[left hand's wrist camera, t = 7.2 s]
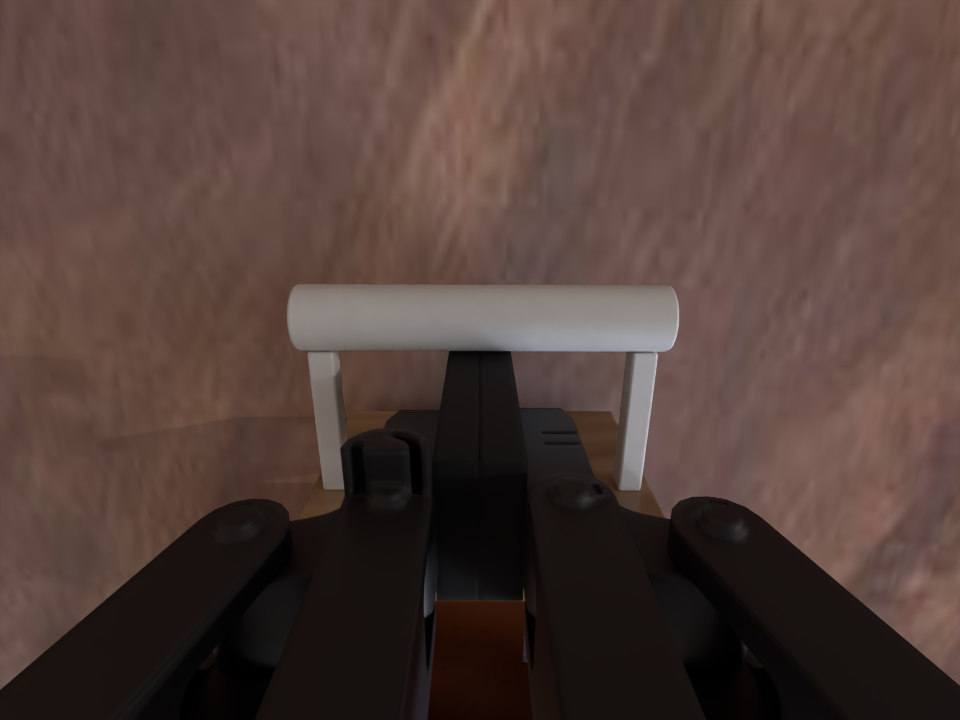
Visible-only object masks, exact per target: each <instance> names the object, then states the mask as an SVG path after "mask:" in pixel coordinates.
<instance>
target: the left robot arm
mask: <svg viewBox="0 0 960 720" xmlns="http://www.w3.org/2000/svg"><path fill="white" fill-rule="evenodd" d="M340 453H341V463H342V472H343V482H344V492H345V497H344V499H343V502H342V504H341V507H340V508H339V509H336V510H334V511H332V512H329V513H326V514H322V515H319V516H315V517H310V518H305V519H300V520H295V521H290V520H289V513H288V511H287V510H286V509H285V508H284V507H283V505H282V504H280V503H277V502H274V501H271V500H268V499H249V500H243V501H237V502H233V503H230V504H228V505H225V506H223V507H220V508H218V509H215V510H214V511H212V512H211V513H209V514H207V515H206V516H204V517H203V518H201V519H200V520H199V521H198V522H196V523H195V524H194V525H193V526H192V527H191V528H189V529H188V530H187V531H186V532H185V533H183V534H182V535H181V536H180V537H179V538H178V539H176V540H175V541H174V542H173V543H172V544H171V545H169V546H168V547H167V548H166V549H165V550H164V551H162V552H161V553H160V554H159V555H158V556H157V557H155V558H154V559H153V560H152V561H151V562H150V563H148V564H147V565H146V566H145V567H144V568H143V569H141V570H140V571H139V572H138V573H137V574H135V575H134V576H133V577H132V578H131V579H130V580H128V581H127V582H126V583H125V584H124V585H123V586H121V587H120V588H119V589H118V590H117V591H116V592H114V593H113V594H112V595H111V596H110V597H109V598H107V599H106V600H105V601H104V602H103V603H102V604H100V605H99V606H98V607H97V608H96V609H95V610H93V611H92V612H91V613H90V614H89V615H87V616H86V617H85V618H84V619H83V620H82V621H80V622H79V623H78V624H77V625H76V626H75V627H73V628H72V629H71V630H70V631H69V632H68V633H66V634H65V635H64V636H63V637H62V638H61V639H59V640H58V641H57V642H56V643H55V644H54V645H52V646H51V647H50V648H49V649H48V650H47V651H45V652H44V653H43V654H42V655H41V656H39V657H38V658H37V659H36V660H35V661H34V662H32V663H31V664H30V665H29V666H28V667H27V668H25V669H24V670H23V671H22V672H21V673H20V674H18V675H17V676H16V677H15V678H14V679H13V680H11V681H10V682H9V683H8V684H7V685H6V686H4V687H3V688H2V689H1V690H0V720H427V718H428V708H429V697H430V686H431V675H432V665H433V654H434V643H435V632H436V613H435V599H436V592H437V601H523V588H524V597H525V613H524V640H523V662H527V664H528V675H529V685H530V696H531V707H532V718H533V720H960V685H958V684H957V683H956V682H955V681H954V680H952V679H951V678H950V677H949V676H948V675H947V674H945V673H944V672H943V671H942V670H941V669H939V668H938V667H937V666H936V665H935V664H934V663H932V662H931V661H930V660H929V659H928V658H926V657H925V656H924V655H923V654H922V653H921V652H919V651H918V650H917V649H916V648H915V647H913V646H912V645H911V644H910V643H909V642H908V641H906V640H905V639H904V638H903V637H902V636H900V635H899V634H898V633H897V632H896V631H895V630H893V629H892V628H891V627H890V626H889V625H887V624H886V623H885V622H884V621H883V620H882V619H880V618H879V617H878V616H877V615H876V614H875V613H873V612H872V611H871V610H870V609H869V608H867V607H866V606H865V605H864V604H863V603H862V602H860V601H859V600H858V599H857V598H856V597H854V596H853V595H852V594H851V593H850V592H849V591H847V590H846V589H845V588H844V587H843V586H841V585H840V584H839V583H838V582H837V581H836V580H834V579H833V578H832V577H831V576H830V575H828V574H827V573H826V572H825V571H824V570H823V569H821V568H820V567H819V566H818V565H817V564H815V563H814V562H813V561H812V560H811V559H810V558H808V557H807V556H806V555H805V554H804V553H802V552H801V551H800V550H799V549H798V548H797V547H795V546H794V545H793V544H792V543H791V542H790V541H788V540H787V539H786V538H785V537H784V536H782V535H781V534H780V533H779V532H778V531H777V530H775V529H774V528H773V527H772V526H771V525H769V524H768V523H767V522H766V521H765V520H764V519H762V518H761V517H760V516H758V515H757V514H755V513H754V512H752V511H751V510H749V509H748V508H746V507H744V506H741V505H739V504H736V503H734V502H731V501H729V500H726V499H721V498H716V497H691V498H688V499H685V500H682V501H679V502H678V503H677V504H676V505H675V506H674V507H673V508H672V512H671V519H666V518H662V517H657V516H652V515H647V514H643V513H639V512H635V511H632V510H629V509H627V508H624V507H622V506H620V505H619V503H618V501H617V498H616V496H615V494H614V493H613V491H612V490H611V489H610V487H609V486H608V485H606V484H605V483H603V482H602V481H600V480H599V479H597V478H595V476H594V473H593V471H592V468H591V465H590V462H589V460H588V457H587V454H586V452H585V449H584V446H583V445H582V441H581V438H580V435H579V434H578V430H577V427H576V424H575V421H574V419H573V418H572V417H570V416H569V415H568V414H567V413H565V412H564V411H563V410H562V409H560V408H520V407H519V401H518V395H517V389H516V383H515V376H514V370H513V364H512V358H511V352H510V351H449V357H448V363H447V369H446V376H445V382H444V388H443V394H442V400H441V406H440V410H399V411H398V412H397V413H395V414H394V415H393V416H392V417H391V418H389V419H388V420H387V421H386V423H385V426H384V428H380V429H373V430H369V431H366V432H362V433H359V434H357V435H356V436H354V437H352V438H350V439H348V440H347V441H346V442H345V443H344V444H343V445H342V447H341V448H340Z"/></svg>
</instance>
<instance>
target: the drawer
mask: <svg viewBox="0 0 960 720" xmlns="http://www.w3.org/2000/svg"><path fill="white" fill-rule="evenodd" d="M287 325H288V331H289V336H290V339H291V342H292V344H293V346H294V347H295V348H296V349H298V350H302V351H309V352H308V355H307V356H308V364H309V372H310V380H311V389H312V397H313V405H314V414H315V422H316V430H317V438H318V447H319V455H320V463H321V474H320V476H319V478H318V480H317V482H316V484H315V486H314V488H313V490H312V492H311V494H310V496H309V498H308V500H307V502H306V504H305V506H304V508H303V510H302V512H301V514H300V516H299V518H298V520H300V519H305V518H310V517H315V516H319V515H322V514H326V513H329V512H332V511H334V510H336V509H339V508H340V507H341V504H342V502H343V499H344V497H345V492H344V482H343V472H342V463H341V453H340V448H341V447H342V445H343V444H344V443H345V442H346V441H347V440H348V439H350V438H352V437H354V436H356V435H357V434H359V433H362V432H366V431H369V430H373V429H380V428H384V426H385V423H386V421H387V420H388V419H389V418H391V417H392V416H393V415H394V414H395V413H397V412H398V411H352V413H351V415H350V417H349V418H348V420H347V422H345V412H344V401H343V391H342V381H341V371H340V361H339V351H627V353H626V363H625V372H624V381H623V390H622V400H621V409H620V418H619V426H618V424H617V422H616V420H615V418H614V417H613V415H612V413H611V412H576V411H564V412H565V413H567V414H568V415H569V416H570V417H572V418H573V419H574V421H575V424H576V427H577V430H578V434H579V435H580V438H581V441H582V445H583V446H584V449H585V452H586V454H587V457H588V460H589V462H590V465H591V468H592V471H593V473H594V476H595V478H597V479H599V480H600V481H602V482H603V483H605V484H606V485H608V486H609V487H610V489H611V490H612V491H613V493H614V494H615V496H616V498H617V501H618V503H619V505H620V506H622V507H624V508H627V509H629V510H632V511H635V512H639V513H643V514H647V515H652V516H657V517H662V518H665V516H664V514H663V512H662V510H661V508H660V507H659V505H658V503H657V501H656V499H655V497H654V495H653V493H652V491H651V489H650V487H649V485H648V483H647V481H646V479H645V477H644V475H643V466H644V459H645V451H646V443H647V436H648V428H649V420H650V413H651V405H652V397H653V390H654V382H655V374H656V367H657V359H658V355H657V353H656V352H665V351H668V350H670V349H671V348H672V346H673V344H674V342H675V340H676V336H677V332H678V325H679V306H678V300H677V296H676V293H675V291H674V289H673V288H672V287H670V286H668V285H475V284H298V285H295V286H294V287H293V288H292V290H291V292H290V295H289V299H288V305H287ZM435 613H436V632H435V643H434V654H433V665H432V675H431V686H430V697H429V708H428V718H427V720H533V718H532V707H531V696H530V685H529V675H528V664H527V662H523V640H524V613H525V597H524V588H523V601H437V592H436V599H435Z"/></svg>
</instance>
